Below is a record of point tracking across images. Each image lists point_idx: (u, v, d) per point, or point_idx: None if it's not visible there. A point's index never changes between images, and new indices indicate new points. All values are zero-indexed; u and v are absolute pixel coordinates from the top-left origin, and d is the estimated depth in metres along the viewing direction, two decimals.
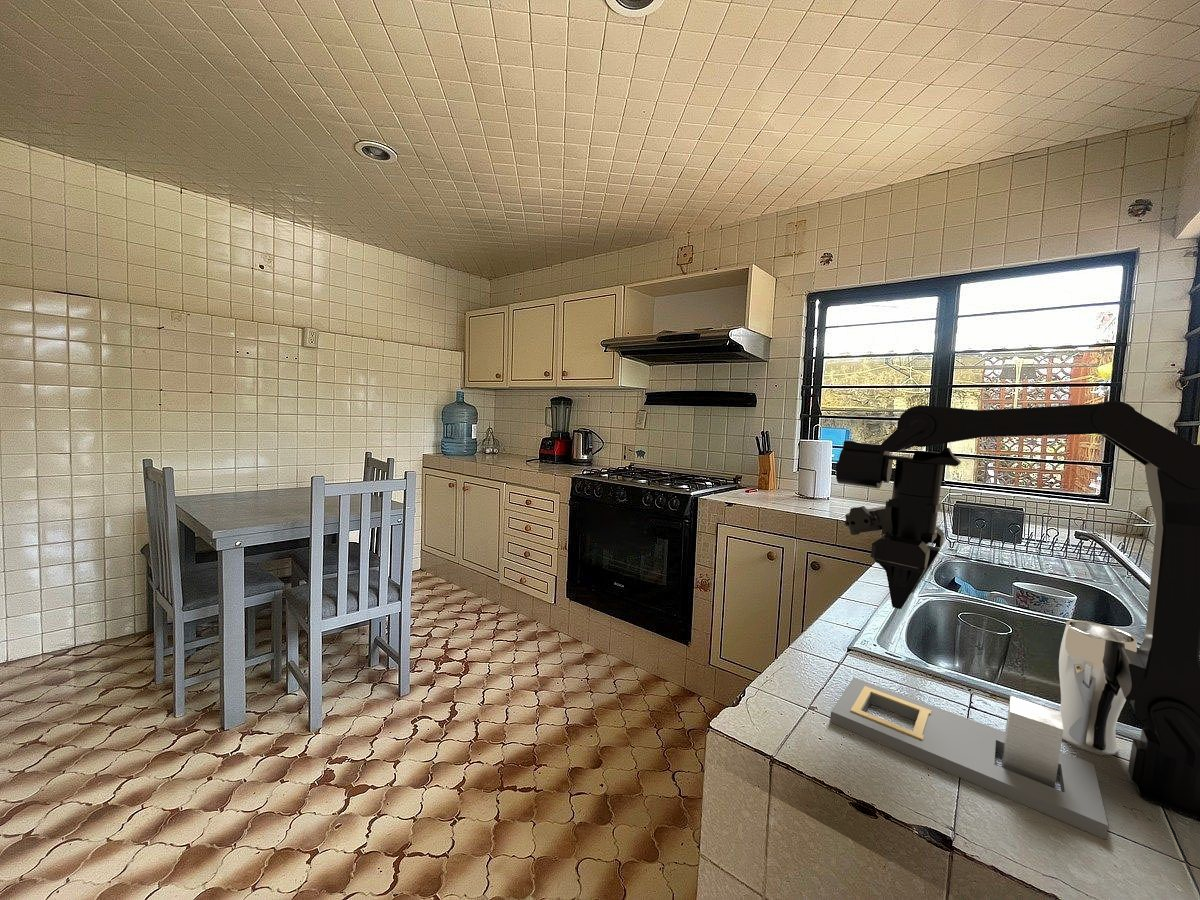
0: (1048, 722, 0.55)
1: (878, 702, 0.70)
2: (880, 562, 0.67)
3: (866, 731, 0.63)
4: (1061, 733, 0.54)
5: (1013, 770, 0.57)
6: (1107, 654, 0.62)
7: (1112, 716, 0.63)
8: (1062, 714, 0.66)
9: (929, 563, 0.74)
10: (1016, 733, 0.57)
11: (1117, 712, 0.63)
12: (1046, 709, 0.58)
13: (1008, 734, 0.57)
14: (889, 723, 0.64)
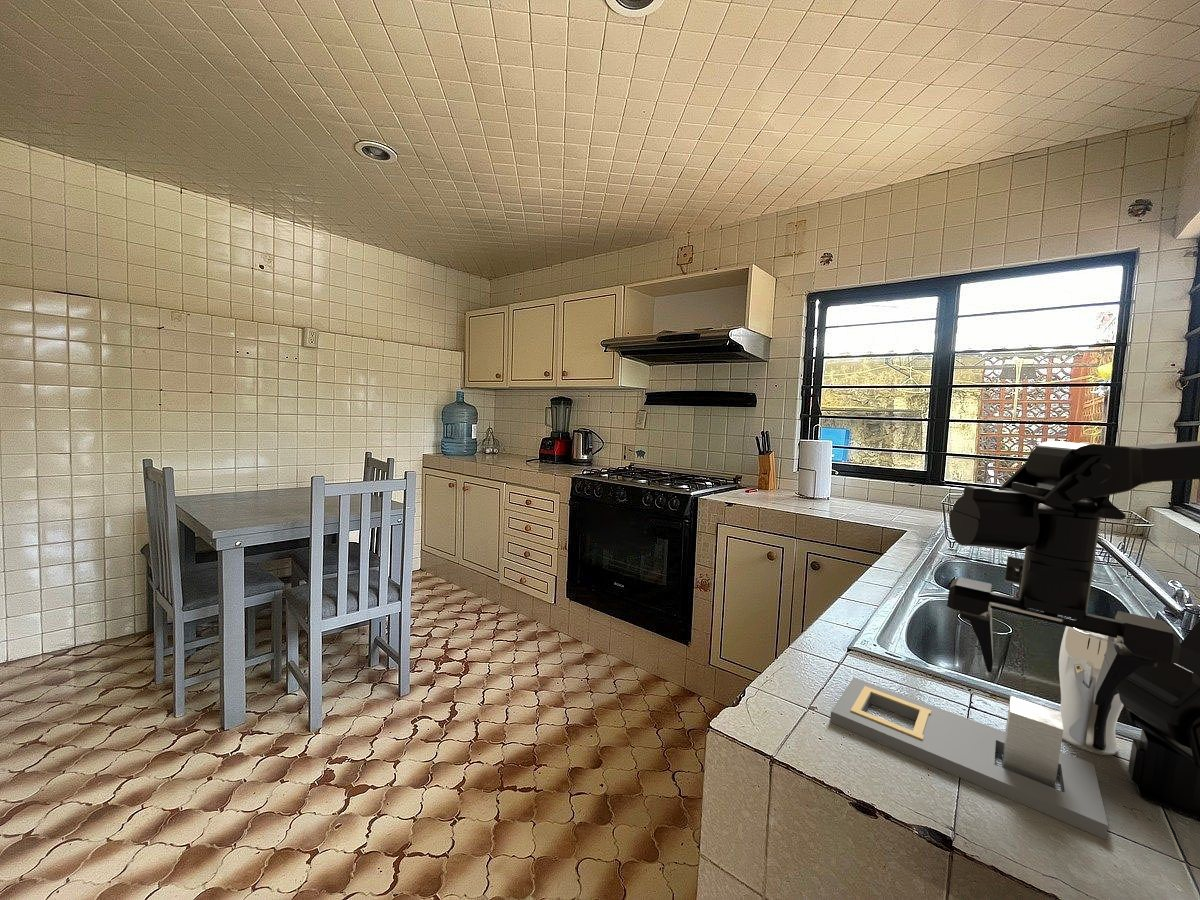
0: (1048, 722, 0.55)
1: (878, 702, 0.70)
2: None
3: (866, 731, 0.63)
4: (1061, 733, 0.54)
5: (1013, 770, 0.57)
6: None
7: (1112, 716, 0.63)
8: (1062, 714, 0.66)
9: (1109, 668, 0.52)
10: (1016, 733, 0.57)
11: (1117, 712, 0.63)
12: (1046, 709, 0.58)
13: (1008, 734, 0.57)
14: (889, 723, 0.64)
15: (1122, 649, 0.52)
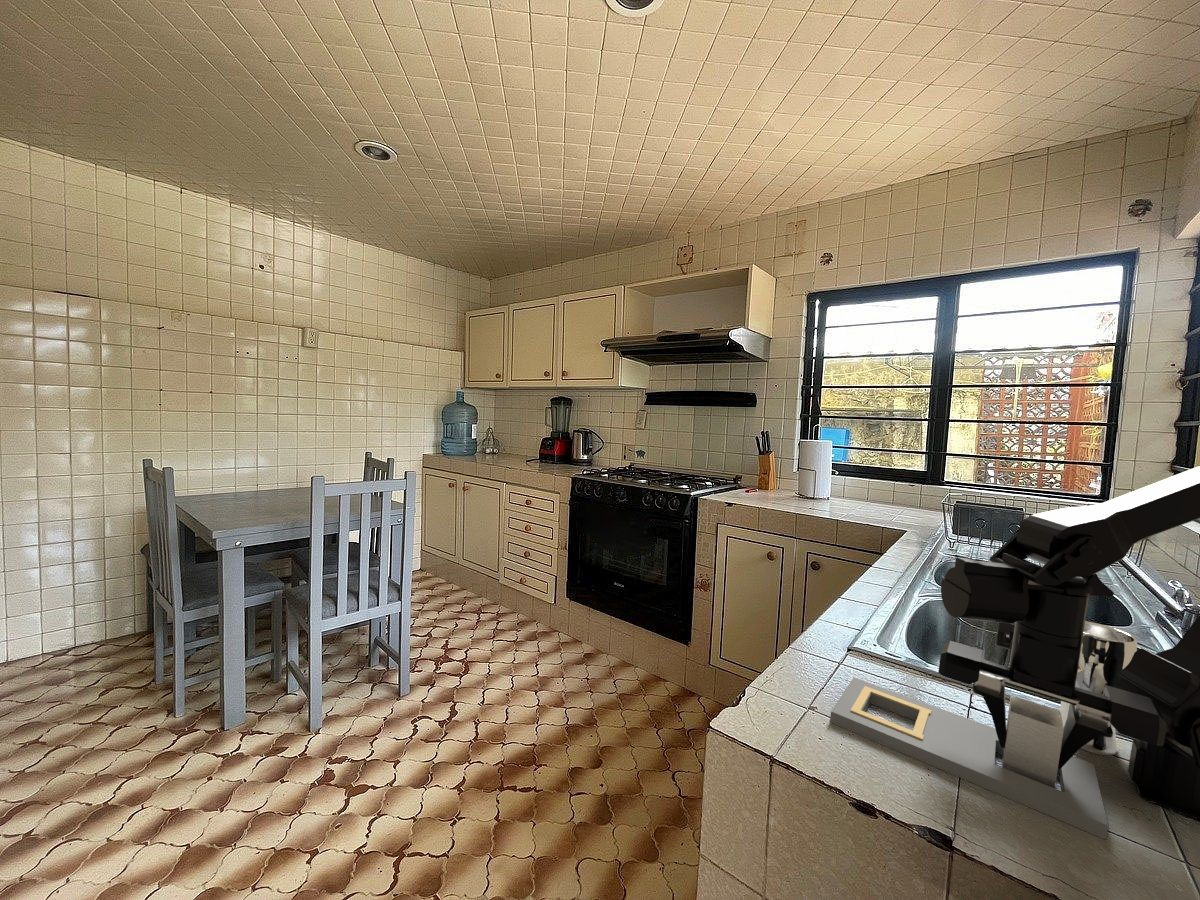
0: (1048, 722, 0.55)
1: (878, 702, 0.70)
2: None
3: (866, 731, 0.63)
4: (1061, 733, 0.54)
5: (1013, 770, 0.57)
6: (1107, 654, 0.62)
7: None
8: (1062, 714, 0.66)
9: (1068, 735, 0.54)
10: (1017, 733, 0.57)
11: None
12: (1046, 709, 0.58)
13: (1008, 734, 0.57)
14: (889, 723, 0.64)
15: (1081, 717, 0.54)
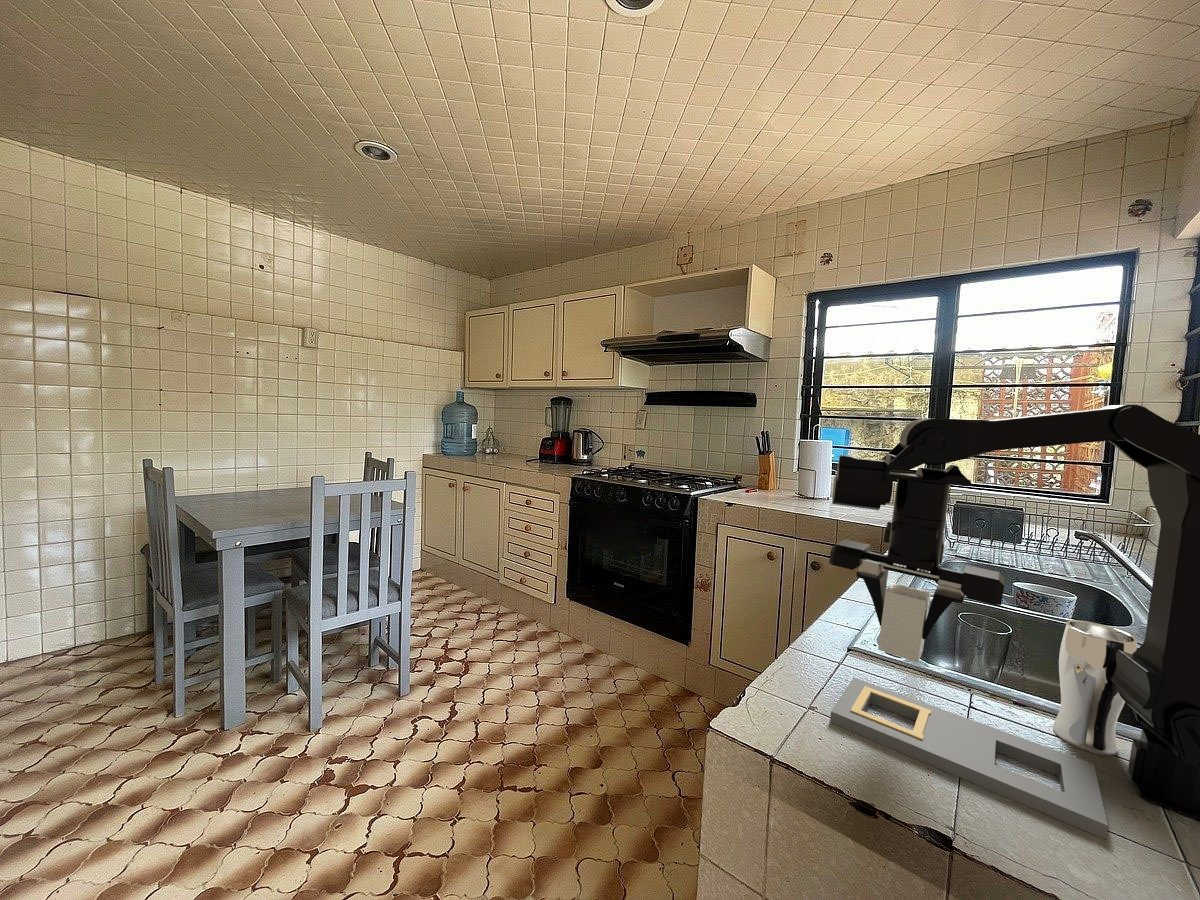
0: (915, 597, 0.63)
1: (878, 702, 0.70)
2: None
3: (866, 731, 0.63)
4: (924, 604, 0.62)
5: (887, 642, 0.65)
6: (1107, 654, 0.62)
7: (1112, 716, 0.63)
8: (1062, 714, 0.66)
9: (930, 606, 0.62)
10: (890, 609, 0.64)
11: (1117, 712, 0.63)
12: (918, 590, 0.66)
13: (884, 611, 0.65)
14: (889, 723, 0.64)
15: (940, 590, 0.62)
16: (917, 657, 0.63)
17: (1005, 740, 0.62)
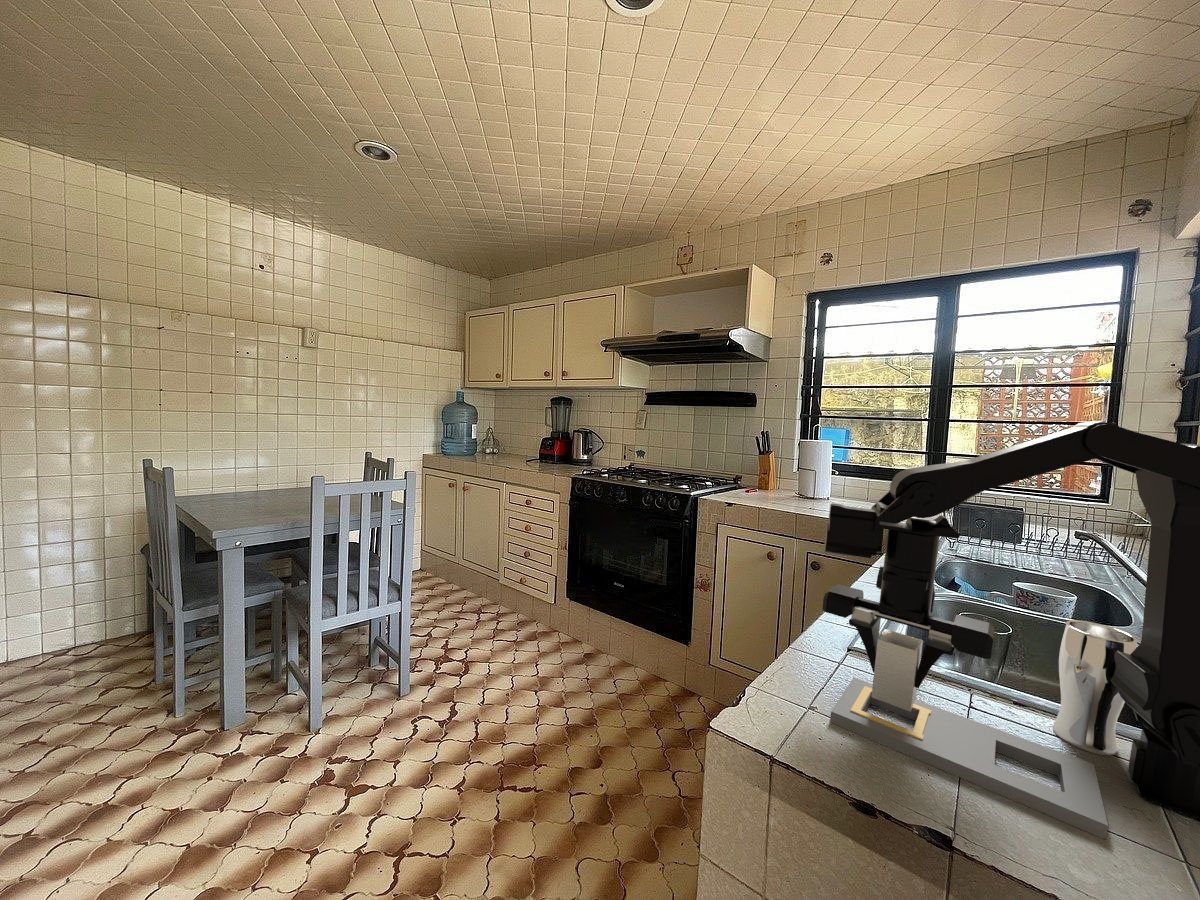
0: (907, 646, 0.64)
1: (878, 702, 0.70)
2: None
3: (866, 731, 0.63)
4: (916, 654, 0.63)
5: (880, 690, 0.66)
6: (1107, 654, 0.62)
7: (1112, 716, 0.63)
8: (1062, 714, 0.66)
9: None
10: (882, 657, 0.65)
11: (1117, 712, 0.63)
12: (910, 638, 0.66)
13: (876, 659, 0.66)
14: (889, 723, 0.64)
15: (932, 641, 0.62)
16: (910, 706, 0.63)
17: (1005, 740, 0.62)
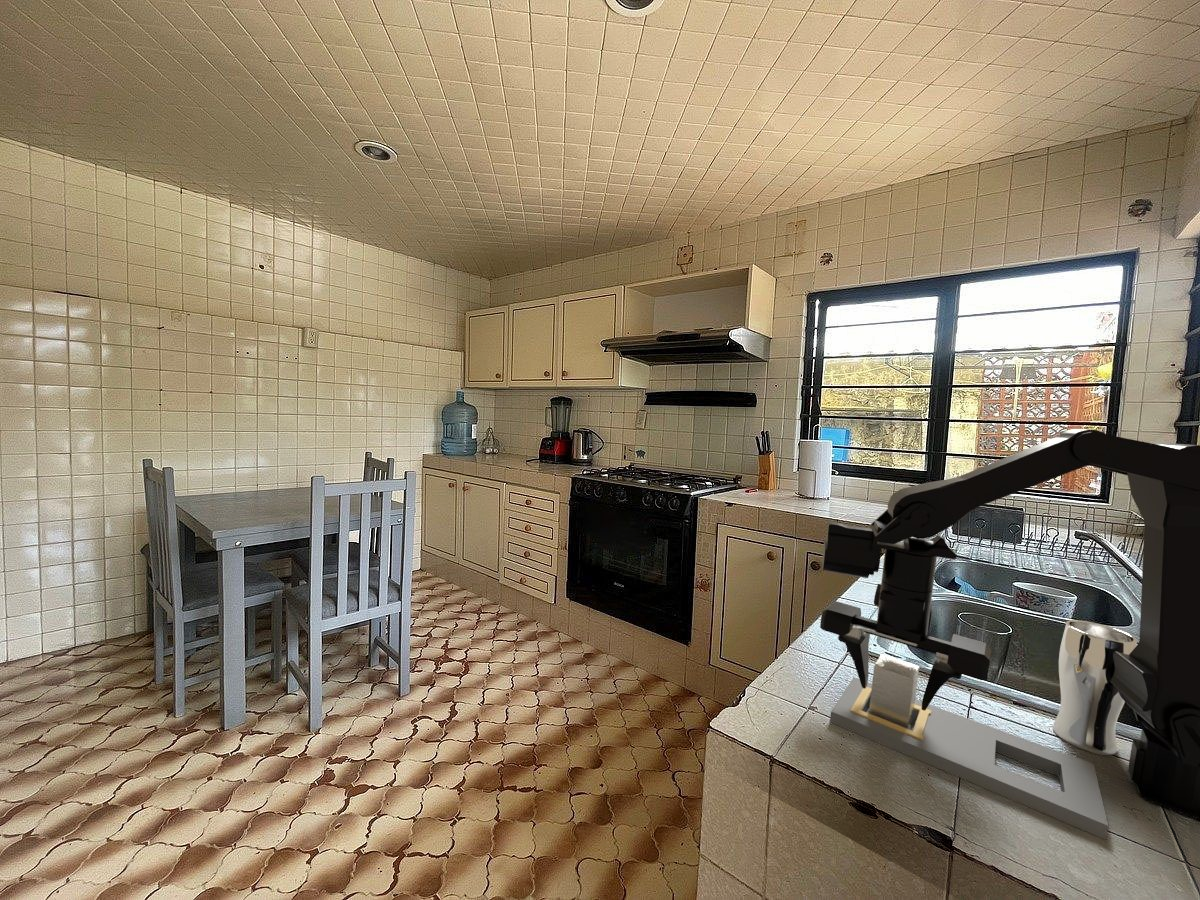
0: (903, 673, 0.64)
1: None
2: None
3: (866, 731, 0.63)
4: (912, 682, 0.63)
5: None
6: (1107, 654, 0.62)
7: (1112, 716, 0.63)
8: (1062, 714, 0.66)
9: None
10: (879, 684, 0.66)
11: (1117, 712, 0.63)
12: (907, 664, 0.67)
13: (873, 685, 0.66)
14: (889, 723, 0.64)
15: (938, 664, 0.62)
16: None
17: (1005, 740, 0.62)
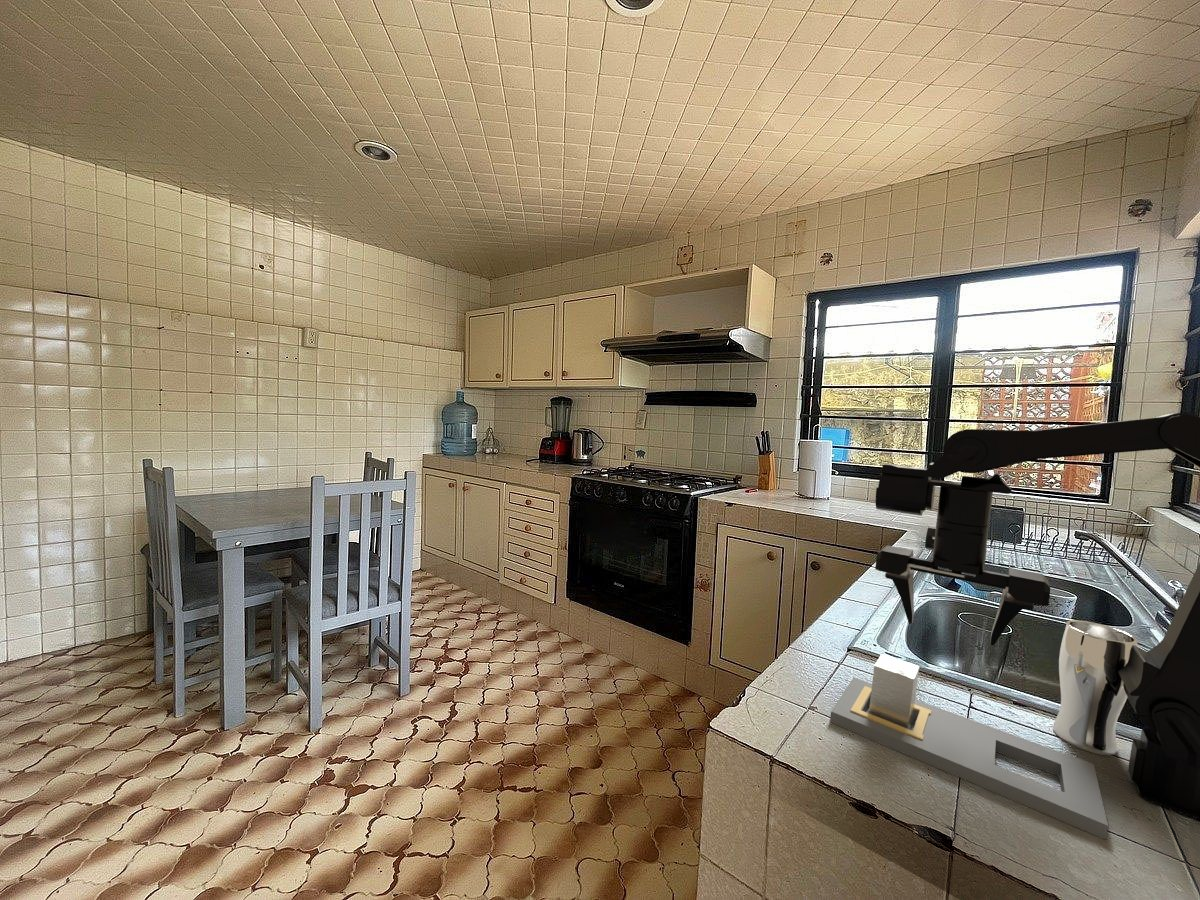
0: (903, 673, 0.64)
1: None
2: None
3: (866, 731, 0.63)
4: (912, 682, 0.63)
5: None
6: (1108, 654, 0.62)
7: (1112, 716, 0.63)
8: (1062, 714, 0.66)
9: (999, 613, 0.63)
10: (879, 684, 0.66)
11: (1117, 712, 0.63)
12: (907, 664, 0.67)
13: (873, 685, 0.66)
14: (889, 723, 0.64)
15: (1009, 597, 0.63)
16: None
17: (1005, 740, 0.62)
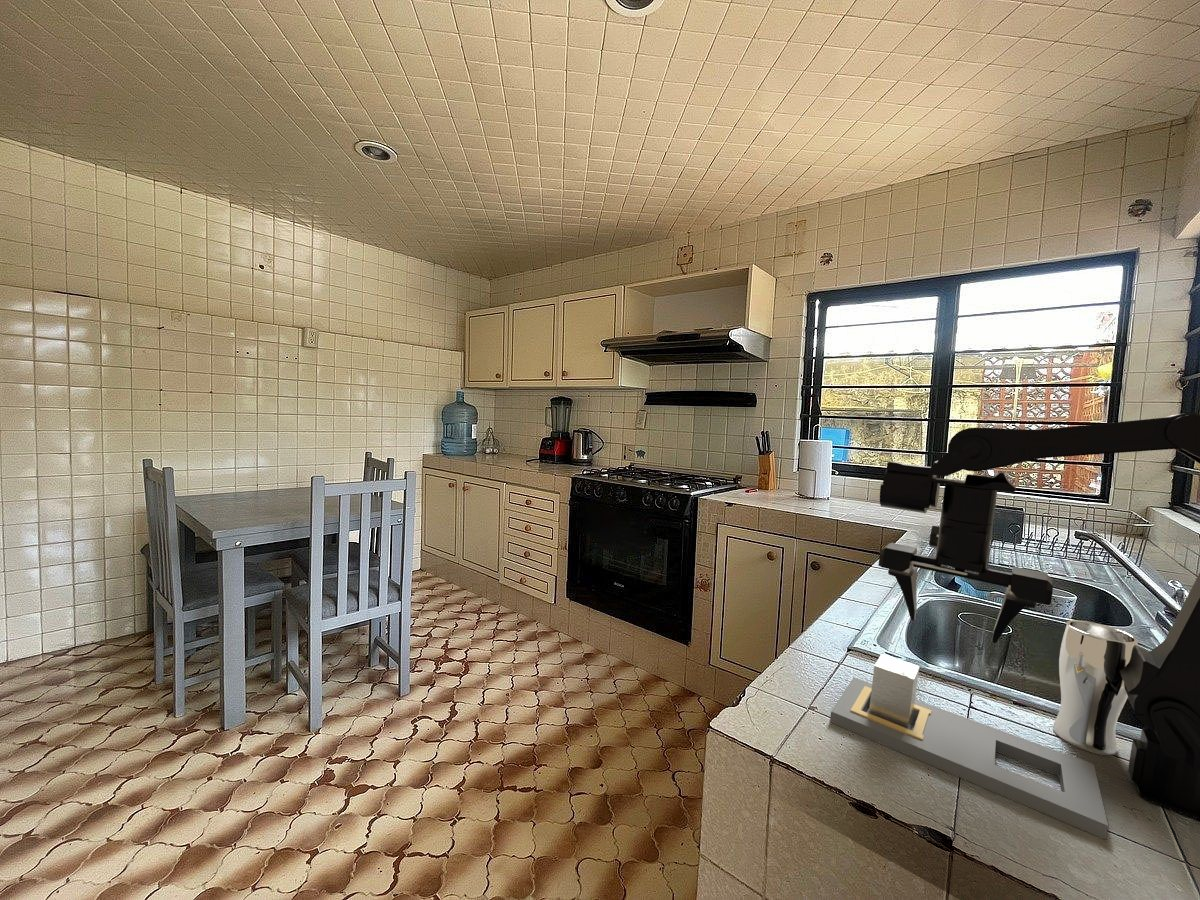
0: (903, 673, 0.64)
1: None
2: None
3: (866, 731, 0.63)
4: (912, 682, 0.63)
5: None
6: (1108, 654, 0.62)
7: (1112, 716, 0.63)
8: (1062, 714, 0.66)
9: (1001, 611, 0.64)
10: (879, 684, 0.66)
11: (1117, 712, 0.63)
12: (907, 664, 0.67)
13: (873, 685, 0.66)
14: (889, 723, 0.64)
15: (1011, 595, 0.63)
16: None
17: (1005, 740, 0.62)
